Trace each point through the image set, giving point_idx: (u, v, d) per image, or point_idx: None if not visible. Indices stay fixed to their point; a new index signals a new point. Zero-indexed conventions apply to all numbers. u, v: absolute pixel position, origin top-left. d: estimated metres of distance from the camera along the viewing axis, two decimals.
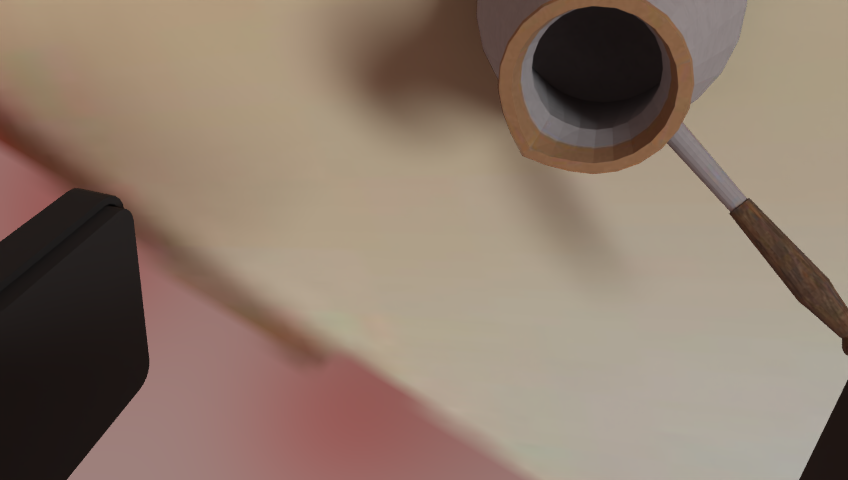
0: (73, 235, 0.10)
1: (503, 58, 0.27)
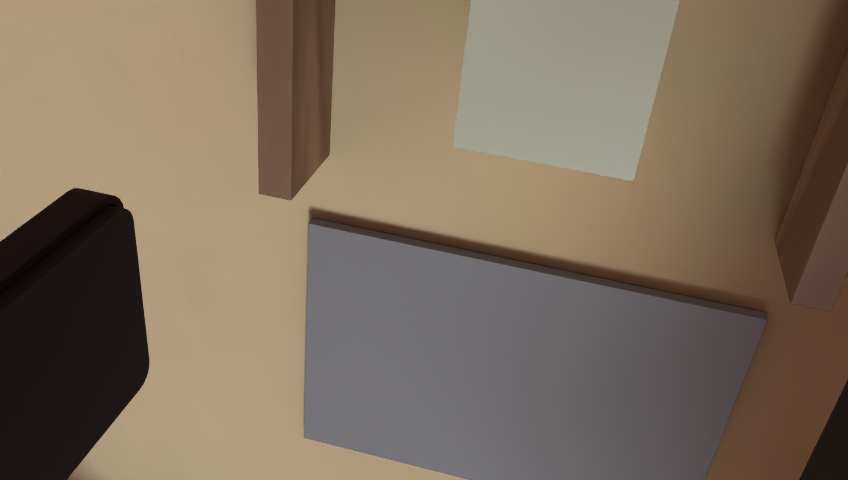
0: (73, 235, 0.10)
1: None
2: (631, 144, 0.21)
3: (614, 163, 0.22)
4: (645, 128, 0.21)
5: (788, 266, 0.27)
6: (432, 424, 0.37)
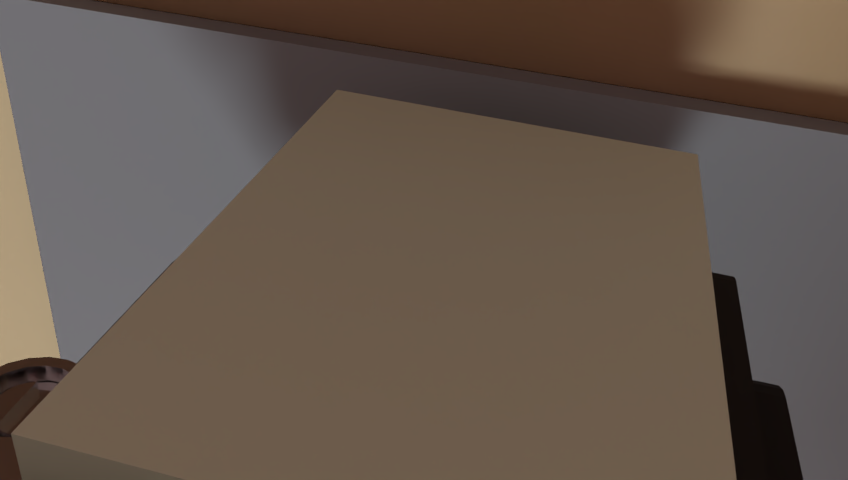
0: None
1: None
2: None
3: None
4: None
5: None
6: None
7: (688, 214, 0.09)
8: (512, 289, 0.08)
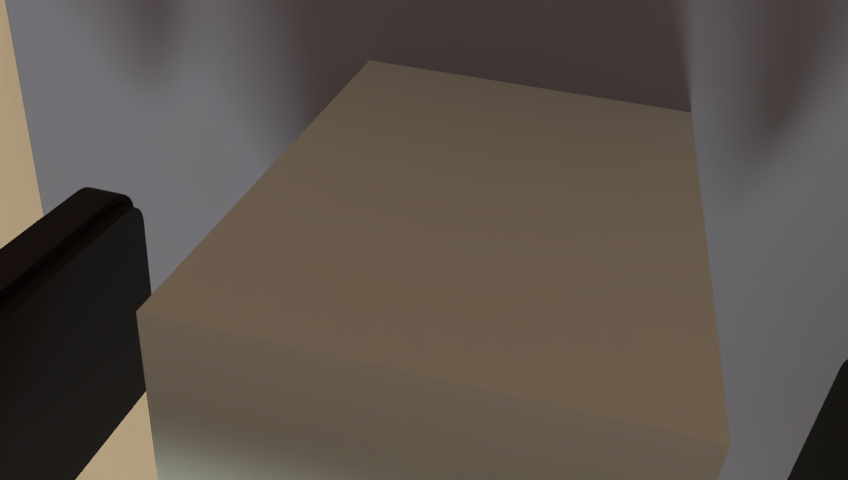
0: (85, 233, 0.10)
1: None
2: None
3: None
4: None
5: None
6: None
7: (682, 159, 0.11)
8: (531, 214, 0.09)
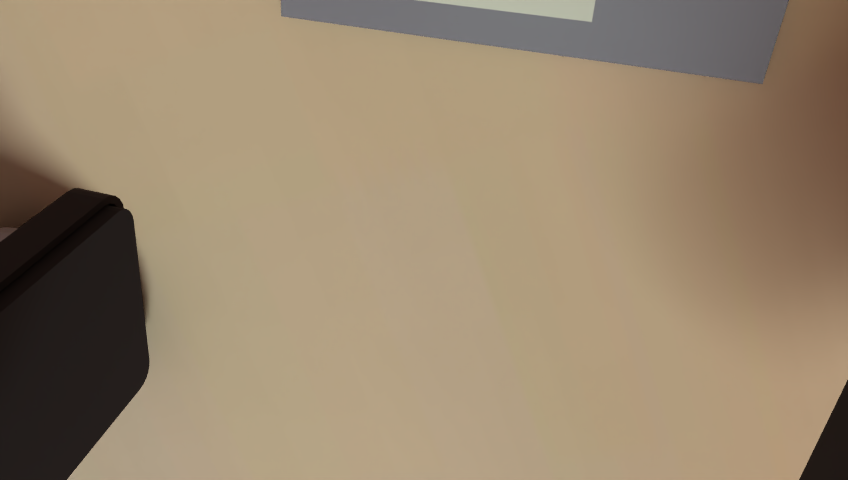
0: (73, 235, 0.10)
1: None
2: None
3: (572, 4, 0.22)
4: None
5: None
6: None
7: None
8: None
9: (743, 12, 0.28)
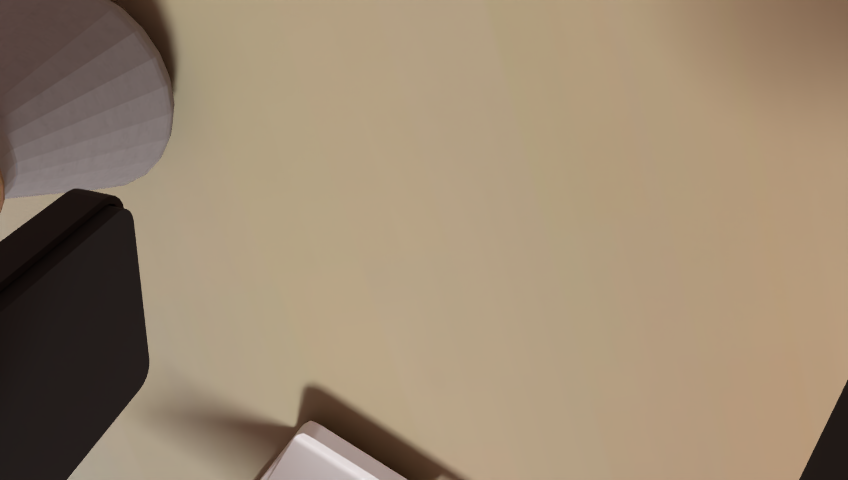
0: (73, 235, 0.10)
1: None
2: None
3: None
4: None
5: None
6: None
7: None
8: None
9: None
